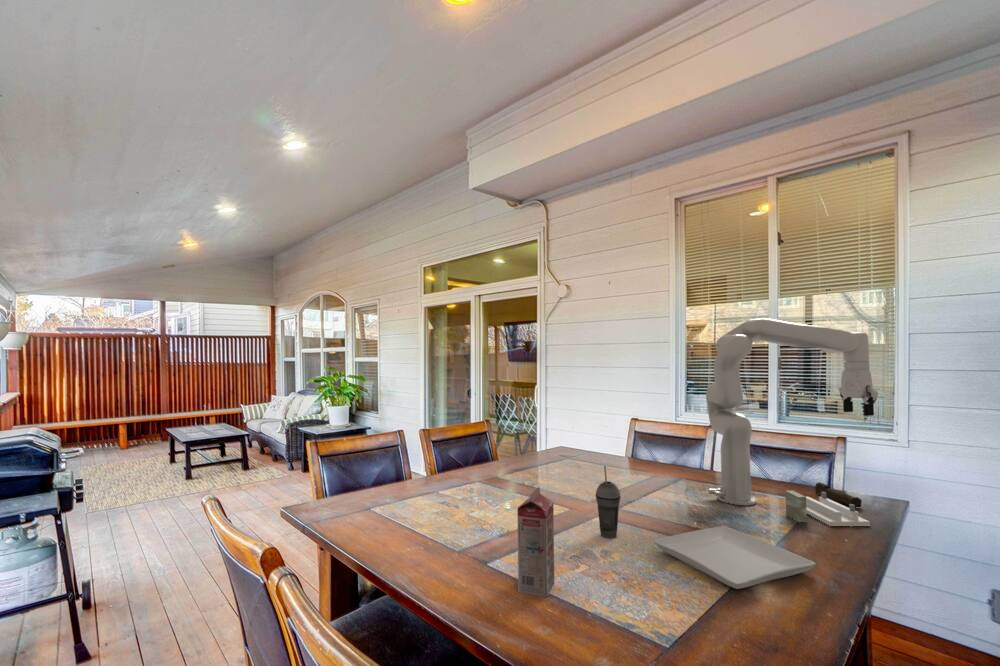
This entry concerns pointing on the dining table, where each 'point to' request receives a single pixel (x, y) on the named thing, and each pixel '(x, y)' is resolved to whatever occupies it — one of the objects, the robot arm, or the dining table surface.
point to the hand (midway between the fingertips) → (858, 413)
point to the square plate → (733, 556)
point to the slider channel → (834, 512)
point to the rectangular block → (796, 506)
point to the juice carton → (536, 545)
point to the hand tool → (837, 495)
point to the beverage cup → (608, 508)
